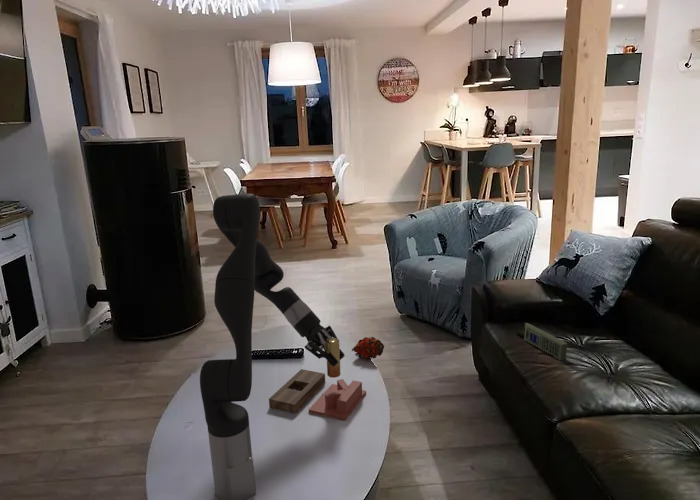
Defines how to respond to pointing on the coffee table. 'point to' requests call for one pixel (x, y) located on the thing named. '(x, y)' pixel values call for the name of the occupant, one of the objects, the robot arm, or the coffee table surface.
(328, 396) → the V-block
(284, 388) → the brown flat block
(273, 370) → the coffee table surface
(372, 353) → the dragon fruit
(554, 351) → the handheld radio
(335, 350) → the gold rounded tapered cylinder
